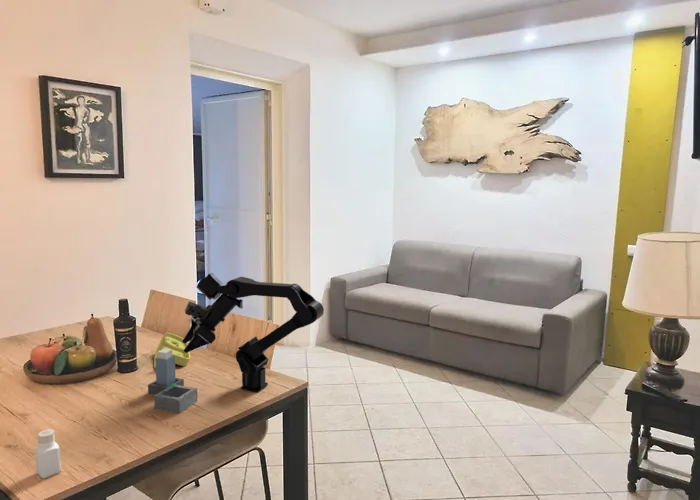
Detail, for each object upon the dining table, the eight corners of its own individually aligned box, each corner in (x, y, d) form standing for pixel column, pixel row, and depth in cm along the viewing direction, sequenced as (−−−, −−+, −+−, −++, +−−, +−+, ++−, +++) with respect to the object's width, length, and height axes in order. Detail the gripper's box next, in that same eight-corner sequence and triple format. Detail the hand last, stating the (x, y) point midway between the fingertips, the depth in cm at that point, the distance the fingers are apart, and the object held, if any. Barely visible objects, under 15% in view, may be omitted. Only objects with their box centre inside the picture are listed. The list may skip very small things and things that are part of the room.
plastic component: (191, 360, 175) (163, 351, 171) (181, 378, 176) (153, 370, 171) (187, 339, 193) (162, 330, 189) (179, 356, 194) (154, 347, 190)
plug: (175, 389, 156) (174, 349, 154) (167, 394, 152) (166, 353, 150) (165, 387, 157) (163, 347, 155) (156, 392, 153) (155, 352, 152)
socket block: (197, 401, 148) (197, 387, 147) (179, 413, 140) (179, 398, 140) (173, 397, 151) (173, 383, 150) (154, 408, 143) (154, 394, 142)
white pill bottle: (41, 480, 108) (38, 439, 107) (35, 473, 111) (32, 432, 110) (62, 472, 111) (59, 432, 110) (55, 465, 114) (52, 426, 113)
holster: (183, 388, 157) (183, 379, 157) (168, 397, 150) (168, 388, 150) (164, 384, 159) (163, 375, 159) (148, 394, 152) (147, 384, 152)
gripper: (198, 287, 163) (163, 322, 161) (202, 299, 146) (164, 340, 143) (223, 308, 167) (189, 344, 165) (230, 323, 150) (193, 363, 147)
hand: (184, 347), depth 155 cm, fingers open, 9 cm apart
